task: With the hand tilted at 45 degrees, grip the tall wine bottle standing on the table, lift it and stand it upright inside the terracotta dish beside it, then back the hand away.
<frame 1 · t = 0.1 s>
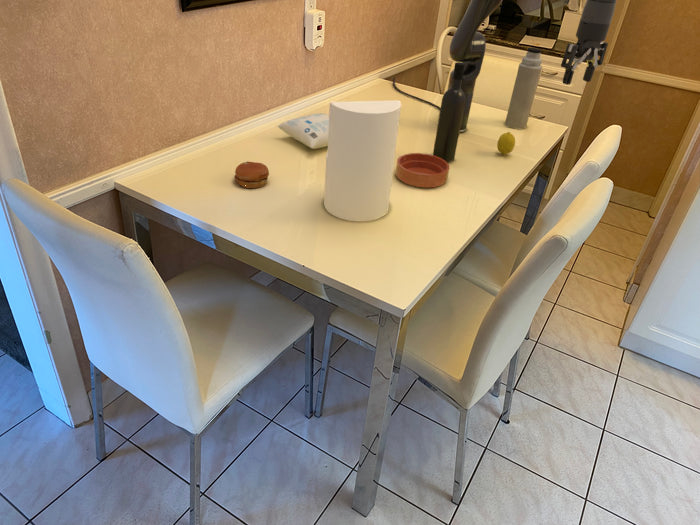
hand: (576, 82, 146), 29 cm above the table, tool pointing down, fingers open, 8 cm apart
dish: (420, 177, 157), on the table
wine bottle: (442, 160, 169), on the table
burger: (251, 181, 147), on the table
pouch: (317, 142, 174), on the table
cylinder: (356, 205, 140), on the table
thermos bottle: (515, 125, 201), on the table
lemon: (503, 155, 176), on the table
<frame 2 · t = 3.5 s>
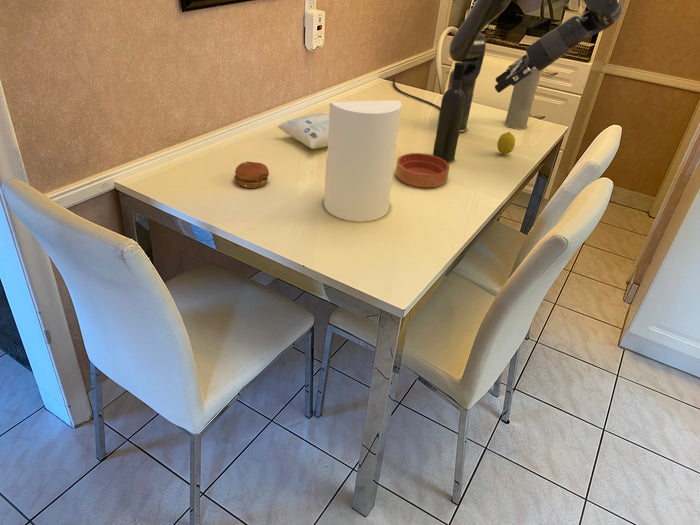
hand: (496, 85, 153), 25 cm above the table, tool tilted 45°, fingers open, 8 cm apart
nothing on the table moved.
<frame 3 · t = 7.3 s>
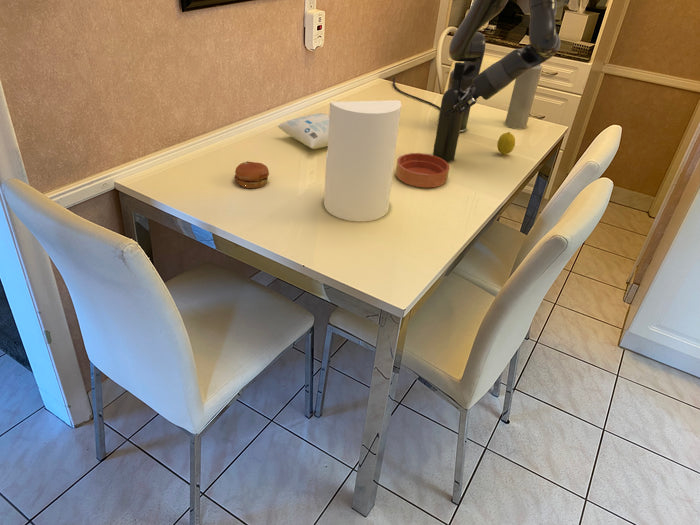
hand: (446, 113, 161), 15 cm above the table, tool tilted 45°, fingers closed on wine bottle, 7 cm apart
wine bottle: (442, 160, 169), on the table, touching gripper
everything else where it was.
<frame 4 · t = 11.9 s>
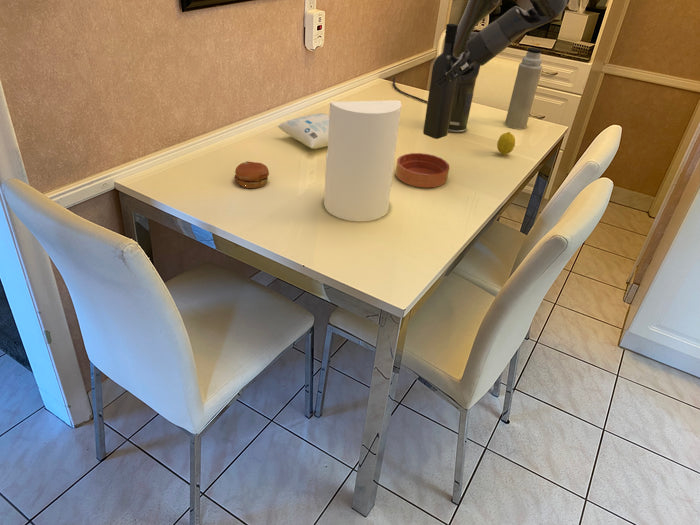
hand: (437, 82, 145), 27 cm above the table, tool tilted 45°, fingers closed on wine bottle, 7 cm apart
wine bottle: (434, 135, 153), point 12 cm above the table, touching gripper
everything else where it was.
when the fingers open (16 cm above the table, at t = 16.3 s): wine bottle stays where it is, resting on dish.
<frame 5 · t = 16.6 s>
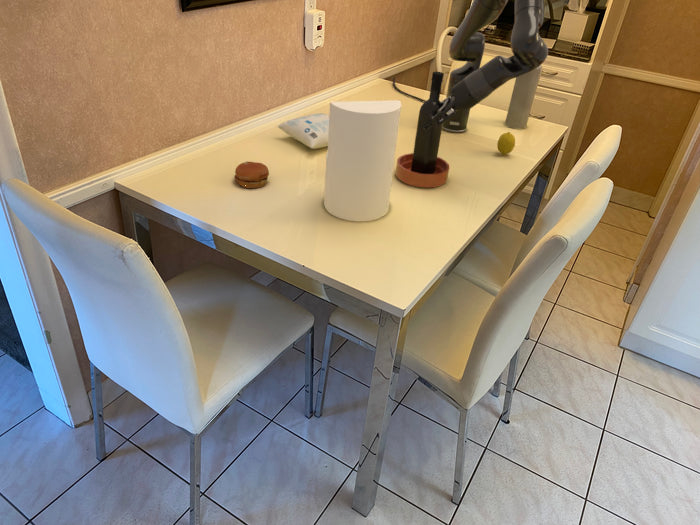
hand: (424, 124, 148), 16 cm above the table, tool tilted 45°, fingers open, 8 cm apart
wine bottle: (421, 176, 157), resting on dish
everything else where it was.
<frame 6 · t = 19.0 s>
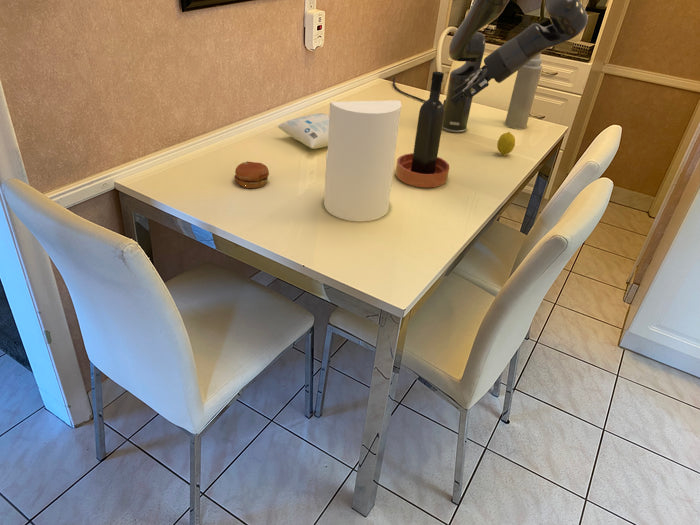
hand: (454, 98, 142), 25 cm above the table, tool tilted 45°, fingers open, 8 cm apart
nothing on the table moved.
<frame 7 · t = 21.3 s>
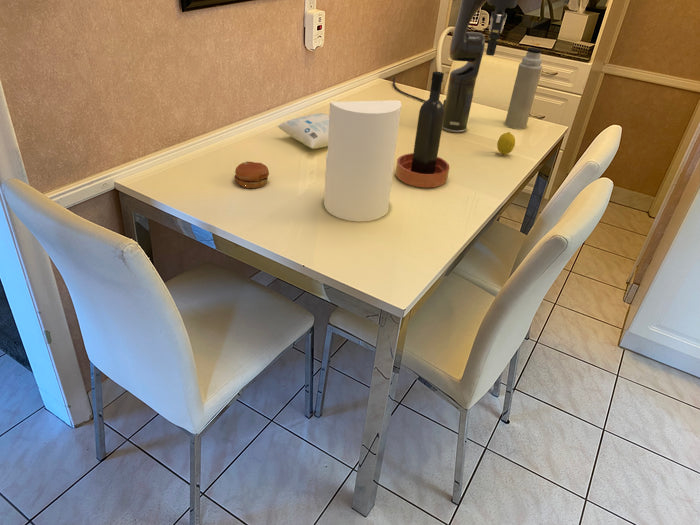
hand: (490, 51, 143), 35 cm above the table, tool pointing down, fingers open, 8 cm apart
nothing on the table moved.
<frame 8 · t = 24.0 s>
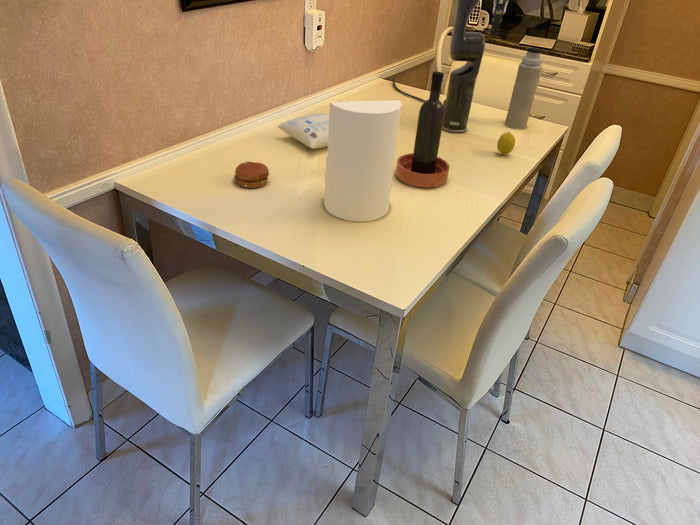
hand: (494, 32, 151), 38 cm above the table, tool pointing down, fingers open, 8 cm apart
nothing on the table moved.
at the end: wine bottle inside the target area in the dish (0.2 cm from its centre), point 0.4 cm above the dish's base; wine bottle tilted 0°; the gripper is holding nothing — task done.
